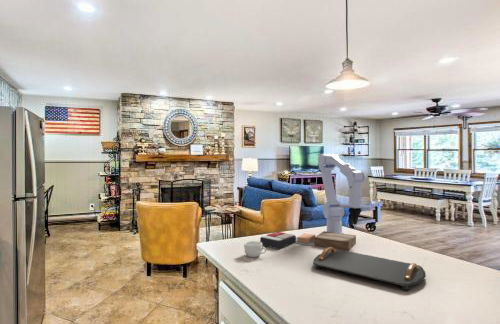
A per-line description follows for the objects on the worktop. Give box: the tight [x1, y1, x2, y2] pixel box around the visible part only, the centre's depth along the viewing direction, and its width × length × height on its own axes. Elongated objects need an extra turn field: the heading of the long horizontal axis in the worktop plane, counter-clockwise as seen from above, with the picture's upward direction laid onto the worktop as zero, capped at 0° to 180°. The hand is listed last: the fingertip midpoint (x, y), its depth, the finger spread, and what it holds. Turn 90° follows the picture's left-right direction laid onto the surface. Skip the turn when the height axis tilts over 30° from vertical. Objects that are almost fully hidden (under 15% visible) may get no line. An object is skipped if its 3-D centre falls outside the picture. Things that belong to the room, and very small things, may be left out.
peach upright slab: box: [297, 232, 316, 243], centre depth 162 cm, size 9×6×2 cm, turn 149°
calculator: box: [259, 231, 297, 250], centre depth 156 cm, size 11×4×15 cm
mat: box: [293, 234, 314, 247], centre depth 163 cm, size 16×12×1 cm
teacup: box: [243, 240, 267, 258], centre depth 138 cm, size 10×8×5 cm
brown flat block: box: [313, 230, 357, 252], centre depth 155 cm, size 14×16×4 cm
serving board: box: [312, 247, 427, 292], centre depth 120 cm, size 39×23×6 cm, turn 51°
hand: (355, 224), depth 155 cm, fingers closed
